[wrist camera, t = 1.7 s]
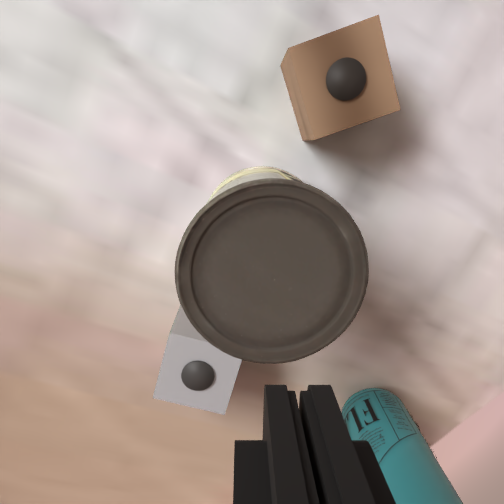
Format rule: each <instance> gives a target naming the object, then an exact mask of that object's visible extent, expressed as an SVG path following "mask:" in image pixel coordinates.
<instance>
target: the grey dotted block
mask: <svg viewBox="0 0 504 504" xmlns="http://www.w3.org/2000/svg"><path fill="white" fill-rule="evenodd" d="M241 362H242V359H238V358H235V357H233V356H230V355H228V354H226V353H224V352H222V351H220V350H219V349H217V348H216V347H214V346H213V345H211V344H210V343H209V342H208V341H207V340H206V339H204V338H203V337H202V335H201V334H199V333H198V332H197V330H196V329H195V328H194V327H193V325H192V324H191V323H190V321H189V320H188V318H187V316H186V314H185V312H184V310H183V308H182V306H181V305H180V308H179V310H178V313H177V315H176V318H175V320H174V323H173V325H172V328H171V330H170V333H169V337H168V341H167V345H166V348H165V352H164V356H163V360H162V364H161V368H160V372H159V376H158V379H157V383H156V387H155V391H154V395H153V398H155V399H159V400H163V401H167V402H172V403H176V404H180V405H184V406H189V407H193V408H197V409H201V410H206V411H210V412H214V413H218V414H223V415H225V412H226V409H227V406H228V403H229V400H230V396H231V393H232V390H233V387H234V384H235V381H236V377H237V374H238V371H239V368H240V365H241Z"/></svg>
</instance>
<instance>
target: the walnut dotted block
mask: <svg viewBox="0 0 504 504" xmlns="http://www.w3.org/2000/svg"><path fill="white" fill-rule="evenodd" d="M280 66H281V69H282V73H283V76H284V79H285V83H286V86H287V89H288V93H289V96H290V100H291V103H292V106H293V110H294V113H295V116H296V120H297V123H298V126H299V130H300V133H301V137H302V140H316V139H319V138H322V137H325V136H327V135H330V134H333V133H336V132H339V131H342V130H344V129H347V128H350V127H353V126H356V125H359V124H362V123H364V122H367V121H370V120H373V119H376V118H379V117H381V116H384V115H387V114H390V113H393V112H396V111H399V110H400V106H399V101H398V97H397V93H396V88H395V84H394V79H393V75H392V71H391V66H390V62H389V58H388V53H387V49H386V45H385V40H384V36H383V31H382V27H381V23H380V18H379V15H377V16H374V17H371V18H368V19H366V20H363V21H360V22H358V23H355V24H352V25H350V26H347V27H344V28H341V29H339V30H336V31H333V32H331V33H328V34H325V35H322V36H320V37H317V38H314V39H312V40H309V41H306V42H304V43H301V44H298V45H295V46H293V47H290V48H288V50H287V52H286V54H285V56H284V59H283V61H282V63H281V65H280Z"/></svg>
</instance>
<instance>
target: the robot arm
mask: <svg viewBox="0 0 504 504" xmlns="http://www.w3.org/2000/svg"><path fill="white" fill-rule="evenodd" d="M233 504H396V502H395V500H394V498H393V496H392V493H391V491H390V489H389V486H388V484H387V482H386V479H385V477H384V475H383V472H382V470H381V468H380V466H379V463H378V461H377V459H376V456H375V454H374V452H373V449H372V447H371V445H370V444H369V442H368V441H366V440H351V437H350V434H349V432H348V429H347V427H346V424H345V421H344V419H343V416H342V413H341V411H340V408H339V405H338V403H337V400H336V397H335V395H334V392H333V389H332V387H331V385H309V386H308V390H307V391H301V392H300V402H299V408H298V403H297V399H296V394H295V391H287V386H286V385H265V387H264V415H263V440H235V452H234V494H233Z"/></svg>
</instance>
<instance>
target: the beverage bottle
mask: <svg viewBox="0 0 504 504" xmlns="http://www.w3.org/2000/svg"><path fill="white" fill-rule="evenodd" d="M408 412H409V411H407V409H406V408H405V406H404V404H403V403H402V401H401V400H400V399H399V398H398V397H397V396H395V395H394V394H393V393H391V392H389V391H387V390H384V389H380V388H369V389H365V390H361V391H359V392H357V393H355V394H354V395H352V396H351V397H350V398H349V399H348V400H347V401H346V403H345V405H344V407H343V409H342V416H343V419H344V421H345V424H346V427H347V429H348V432H349V434H350V437H351V440H366V441H368V442H369V444H370V445H371V447H372V449H373V452H374V454H375V456H376V459H377V461H378V463H379V466H380V468H381V470H382V472H383V475H384V477H385V479H386V482H387V484H388V486H389V489H390V491H391V493H392V496H393V498H394V500H395V502H396V504H463V503H462V501H461V499H460V498H459V496H458V494H457V493H456V491H455V490H454V488H453V486H452V485H451V483H450V481H449V480H448V478H447V476H446V475H445V473H444V471H443V470H442V468H441V467H440V465H439V464H438V462H437V460H436V459H435V457H434V455H433V452H432V451H431V449H430V448H429V446H428V444H427V443H428V442H427V443H426V440H425V439H424V437H423V436H422V434H421V433H420V429H418V428H417V424H416V423H415V422H414V421H413V419H412V417H411V416H410V414H409V413H408ZM418 427H419V426H418Z"/></svg>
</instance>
